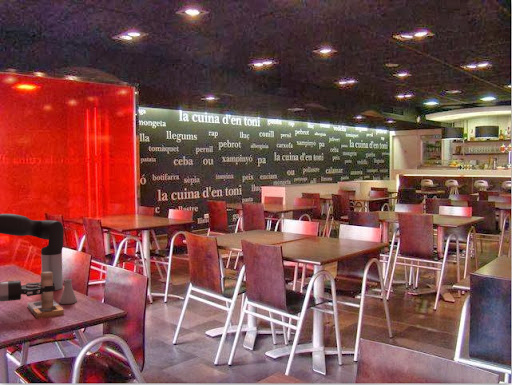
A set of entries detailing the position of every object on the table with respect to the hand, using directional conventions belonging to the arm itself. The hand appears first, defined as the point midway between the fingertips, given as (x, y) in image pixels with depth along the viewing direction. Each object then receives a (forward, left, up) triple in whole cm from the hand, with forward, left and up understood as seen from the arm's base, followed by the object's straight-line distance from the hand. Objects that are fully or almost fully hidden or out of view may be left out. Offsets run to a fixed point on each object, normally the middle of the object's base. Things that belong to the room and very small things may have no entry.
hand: (54, 286), depth 203 cm
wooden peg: (0, -3, -8) cm, 8 cm away
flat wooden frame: (-5, -3, -11) cm, 12 cm away
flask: (-13, +9, -11) cm, 19 cm away
